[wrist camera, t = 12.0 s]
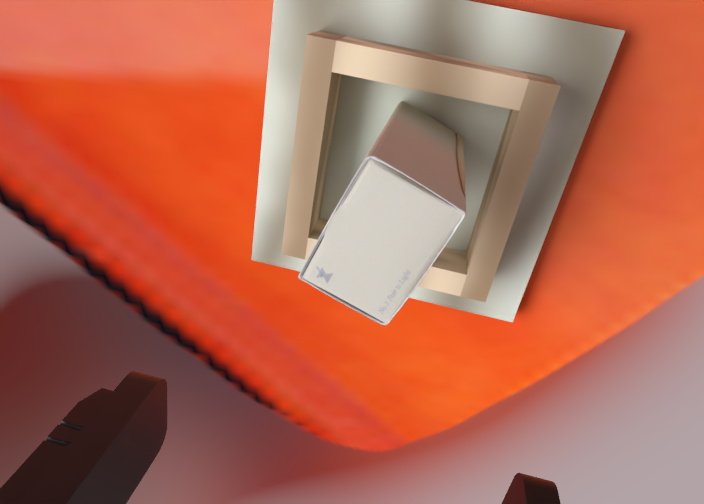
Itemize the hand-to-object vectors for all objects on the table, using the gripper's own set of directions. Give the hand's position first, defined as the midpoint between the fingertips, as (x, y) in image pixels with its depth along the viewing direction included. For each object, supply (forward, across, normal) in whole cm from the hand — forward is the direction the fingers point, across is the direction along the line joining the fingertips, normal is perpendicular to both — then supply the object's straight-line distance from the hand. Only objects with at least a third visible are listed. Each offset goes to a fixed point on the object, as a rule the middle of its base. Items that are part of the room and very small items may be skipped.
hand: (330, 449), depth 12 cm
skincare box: (+22, 0, 0) cm, 22 cm away
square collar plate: (+23, 0, 0) cm, 23 cm away
